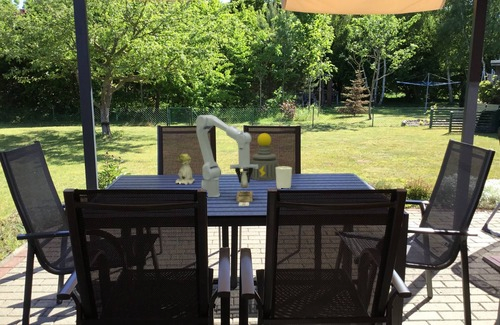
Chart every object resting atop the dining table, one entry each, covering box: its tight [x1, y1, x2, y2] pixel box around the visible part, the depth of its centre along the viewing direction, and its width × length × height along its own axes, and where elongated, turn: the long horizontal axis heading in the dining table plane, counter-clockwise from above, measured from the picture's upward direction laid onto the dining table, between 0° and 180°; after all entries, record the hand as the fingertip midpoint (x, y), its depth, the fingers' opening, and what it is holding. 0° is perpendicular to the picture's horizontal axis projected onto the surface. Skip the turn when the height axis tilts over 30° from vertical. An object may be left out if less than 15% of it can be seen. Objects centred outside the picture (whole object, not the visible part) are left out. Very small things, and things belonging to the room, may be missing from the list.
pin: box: [240, 170, 249, 189], centre depth 215 cm, size 4×4×8 cm
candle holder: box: [275, 166, 293, 190], centre depth 245 cm, size 10×10×12 cm
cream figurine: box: [175, 153, 195, 185], centre depth 263 cm, size 12×13×18 cm
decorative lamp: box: [250, 132, 280, 182], centre depth 274 cm, size 19×19×30 cm
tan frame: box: [236, 190, 254, 203], centre depth 220 cm, size 8×14×2 cm, turn 179°
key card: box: [238, 202, 250, 207], centre depth 208 cm, size 5×6×1 cm
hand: (244, 182), depth 215 cm, fingers closed on pin, 4 cm apart
